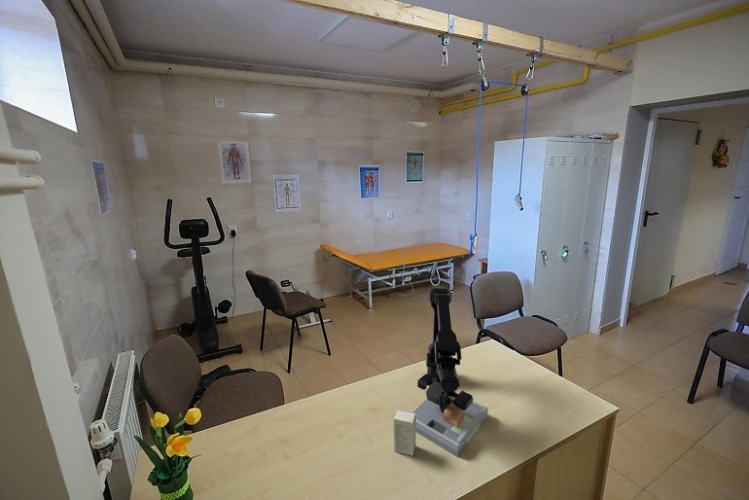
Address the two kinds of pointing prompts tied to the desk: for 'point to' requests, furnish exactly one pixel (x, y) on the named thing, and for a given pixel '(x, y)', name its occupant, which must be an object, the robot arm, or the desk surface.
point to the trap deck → (444, 433)
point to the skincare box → (404, 432)
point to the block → (453, 415)
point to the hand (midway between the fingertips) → (442, 411)
